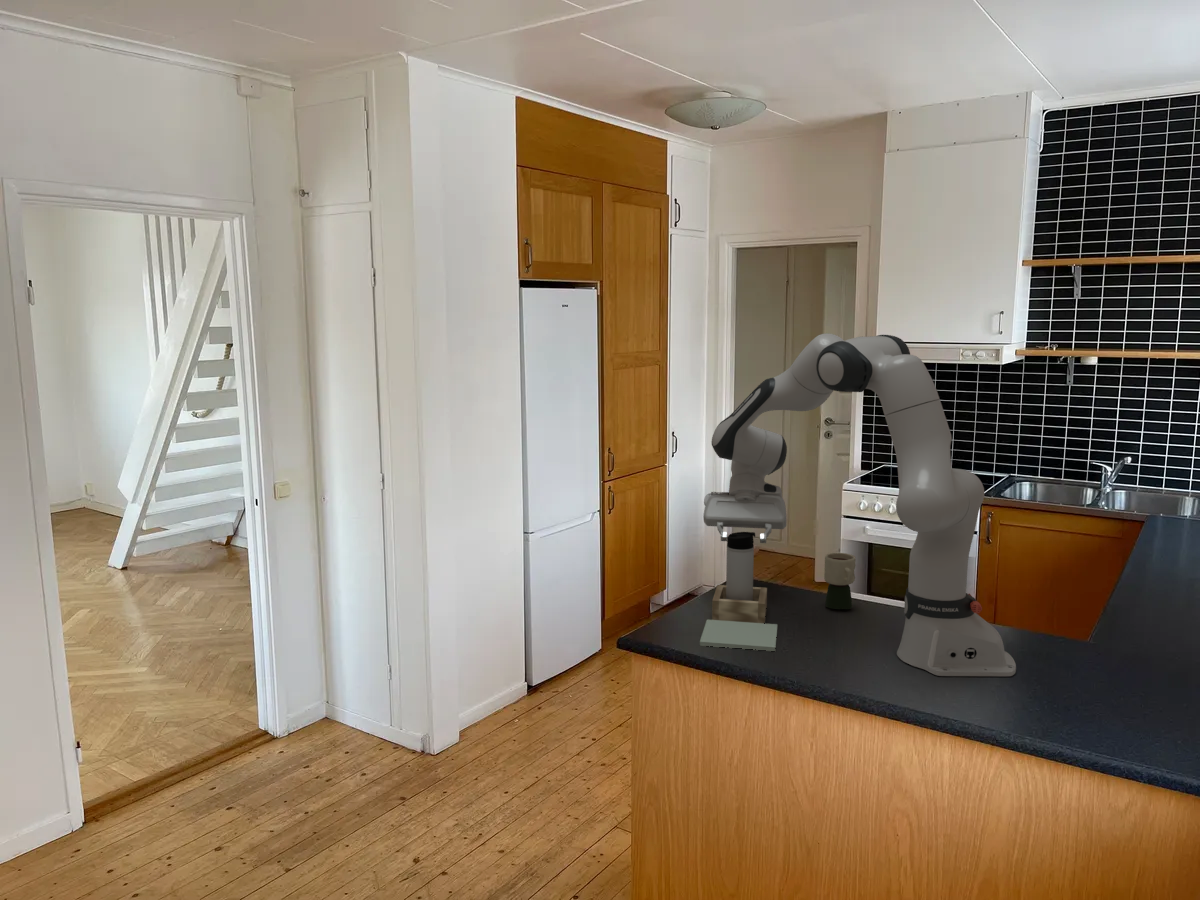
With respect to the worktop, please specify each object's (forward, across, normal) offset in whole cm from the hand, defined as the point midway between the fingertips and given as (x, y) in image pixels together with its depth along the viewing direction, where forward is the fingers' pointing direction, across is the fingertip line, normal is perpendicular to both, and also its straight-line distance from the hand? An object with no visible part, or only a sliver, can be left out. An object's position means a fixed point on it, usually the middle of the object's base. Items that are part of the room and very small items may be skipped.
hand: (743, 541), depth 210 cm
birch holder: (+16, 0, +8) cm, 17 cm away
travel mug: (+16, 0, +8) cm, 18 cm away
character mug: (+9, +23, +14) cm, 28 cm away
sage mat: (+26, +1, -3) cm, 26 cm away
